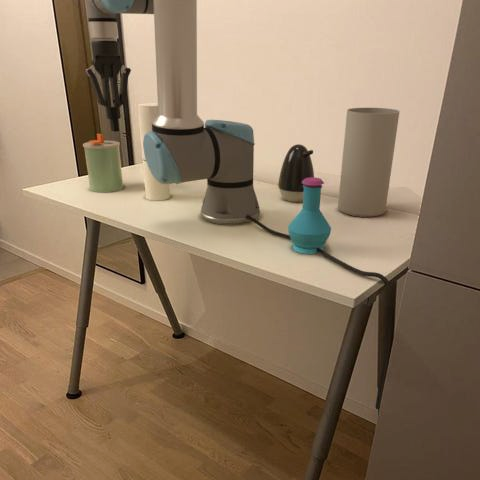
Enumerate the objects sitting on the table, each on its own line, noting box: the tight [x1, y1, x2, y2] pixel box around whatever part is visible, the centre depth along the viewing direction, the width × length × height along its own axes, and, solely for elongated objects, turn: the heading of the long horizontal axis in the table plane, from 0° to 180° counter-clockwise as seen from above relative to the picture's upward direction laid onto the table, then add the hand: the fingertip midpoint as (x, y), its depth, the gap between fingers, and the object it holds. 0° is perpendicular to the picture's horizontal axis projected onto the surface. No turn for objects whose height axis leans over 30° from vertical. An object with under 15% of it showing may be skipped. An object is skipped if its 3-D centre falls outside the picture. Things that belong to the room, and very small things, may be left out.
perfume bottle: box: [287, 176, 332, 255], centre depth 107 cm, size 9×9×15 cm
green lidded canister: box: [82, 140, 124, 193], centre depth 153 cm, size 11×11×13 cm
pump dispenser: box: [278, 143, 315, 203], centre depth 141 cm, size 10×10×15 cm
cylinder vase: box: [337, 107, 401, 218], centre depth 129 cm, size 12×12×25 cm
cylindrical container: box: [137, 102, 171, 201], centre depth 141 cm, size 7×7×25 cm
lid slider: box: [88, 133, 105, 144], centre depth 148 cm, size 4×3×2 cm
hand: (115, 130), depth 150 cm, fingers closed
